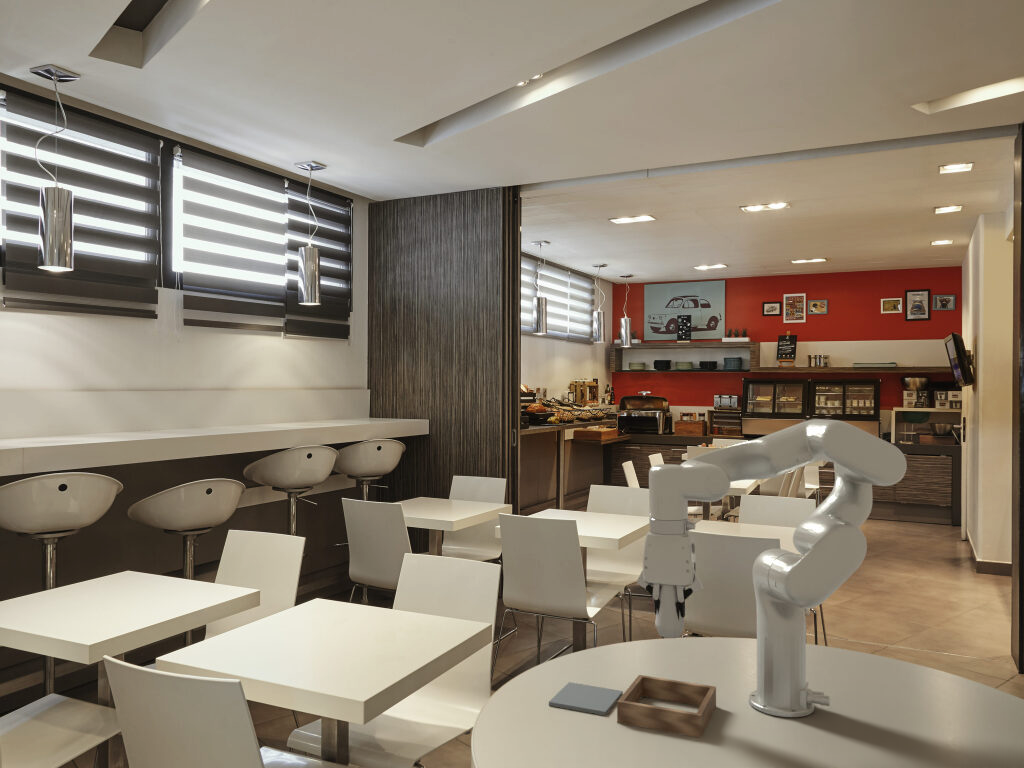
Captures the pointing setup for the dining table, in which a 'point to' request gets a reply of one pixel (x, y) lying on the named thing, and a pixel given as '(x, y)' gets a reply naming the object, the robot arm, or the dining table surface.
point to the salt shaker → (669, 613)
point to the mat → (586, 698)
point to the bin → (666, 717)
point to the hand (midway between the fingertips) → (670, 618)
